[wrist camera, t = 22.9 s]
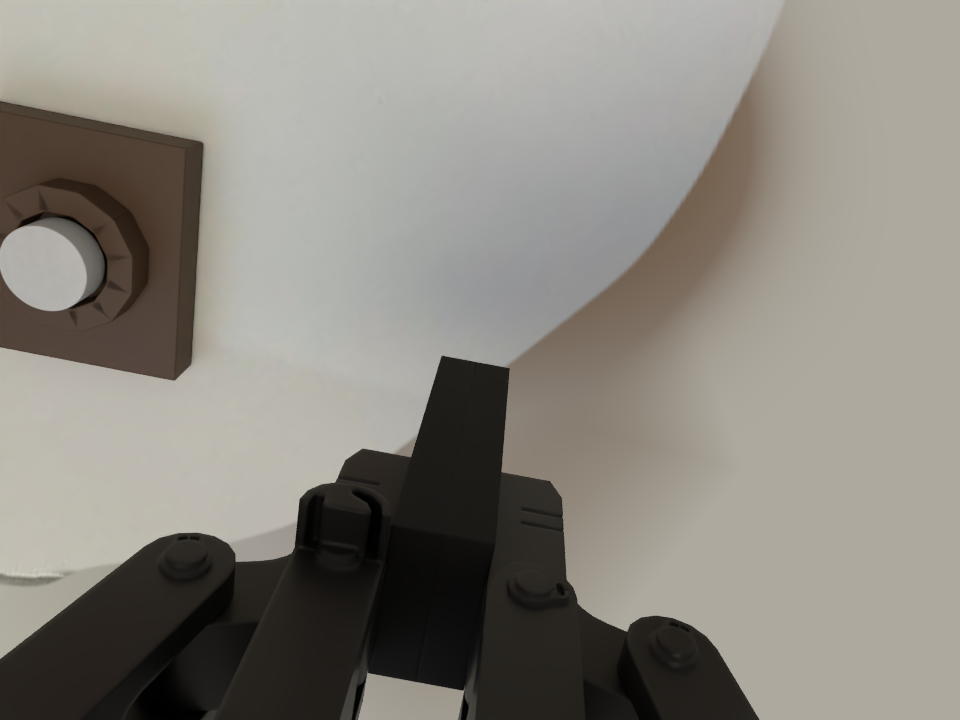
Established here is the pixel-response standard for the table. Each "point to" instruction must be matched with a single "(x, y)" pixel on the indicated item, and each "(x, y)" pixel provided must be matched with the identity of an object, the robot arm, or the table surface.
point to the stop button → (51, 263)
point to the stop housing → (106, 237)
